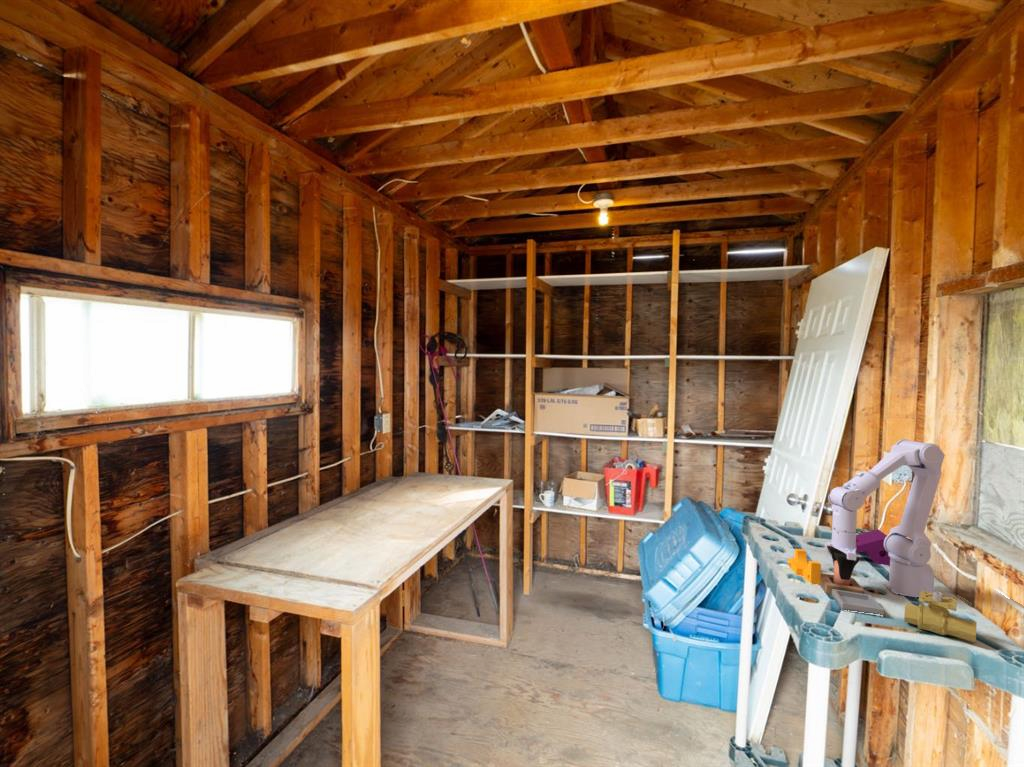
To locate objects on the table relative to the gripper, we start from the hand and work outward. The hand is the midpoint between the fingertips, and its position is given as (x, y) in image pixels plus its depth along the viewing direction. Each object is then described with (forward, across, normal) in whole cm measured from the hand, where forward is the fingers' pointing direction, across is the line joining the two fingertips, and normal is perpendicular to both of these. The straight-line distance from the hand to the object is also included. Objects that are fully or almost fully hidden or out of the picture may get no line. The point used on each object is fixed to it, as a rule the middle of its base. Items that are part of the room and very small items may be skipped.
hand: (842, 575), depth 134 cm
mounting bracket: (+5, -34, +14) cm, 37 cm away
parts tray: (+4, +10, +1) cm, 11 cm away
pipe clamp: (+5, -7, -8) cm, 12 cm away
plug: (+3, 0, 0) cm, 3 cm away
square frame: (+4, 0, 0) cm, 4 cm away
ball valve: (+5, +17, +16) cm, 23 cm away
